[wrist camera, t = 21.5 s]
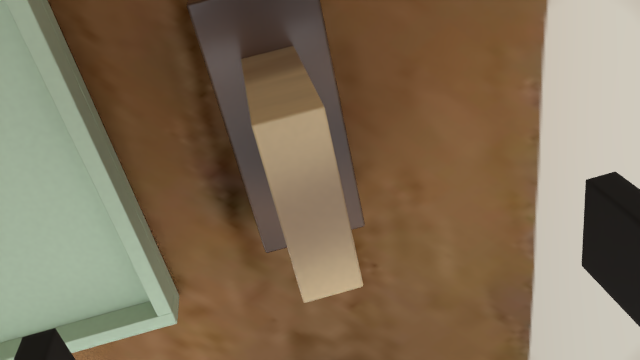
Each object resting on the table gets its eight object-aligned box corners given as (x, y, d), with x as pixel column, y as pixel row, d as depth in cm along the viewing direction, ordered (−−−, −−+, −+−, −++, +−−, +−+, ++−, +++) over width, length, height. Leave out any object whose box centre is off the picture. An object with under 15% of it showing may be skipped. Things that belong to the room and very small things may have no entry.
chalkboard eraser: (189, -12, 24) (174, 54, 15) (301, -39, 24) (356, 8, 15) (260, 216, 30) (281, 363, 21) (349, 191, 30) (410, 327, 21)
